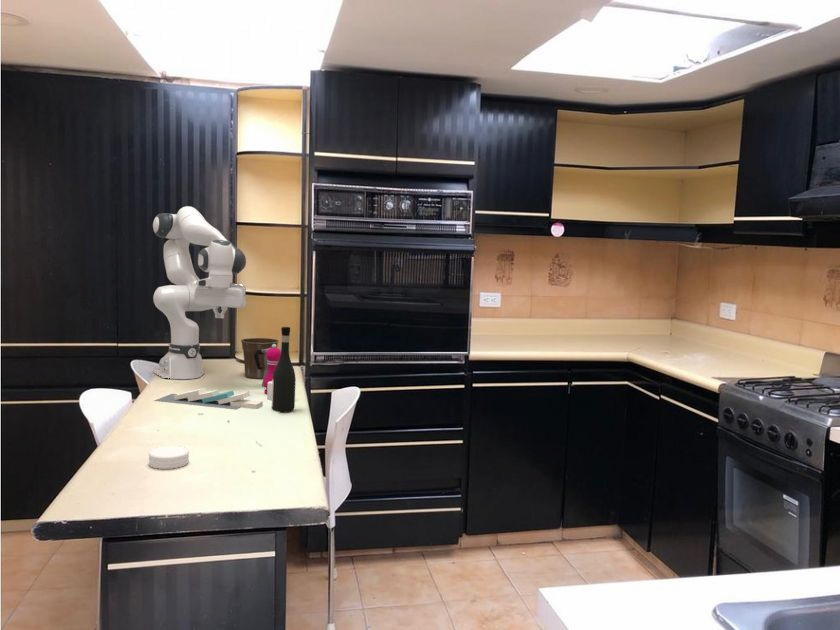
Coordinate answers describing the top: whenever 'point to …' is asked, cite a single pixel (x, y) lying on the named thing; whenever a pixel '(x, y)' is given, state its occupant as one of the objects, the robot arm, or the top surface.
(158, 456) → the coaster
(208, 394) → the ivory domino
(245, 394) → the ivory domino
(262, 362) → the plant pot
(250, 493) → the top surface
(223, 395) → the teal domino
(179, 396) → the ivory domino
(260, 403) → the ivory domino
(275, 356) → the pepper mill
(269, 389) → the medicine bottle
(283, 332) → the wine bottle
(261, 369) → the coffeepot
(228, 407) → the slate mat
